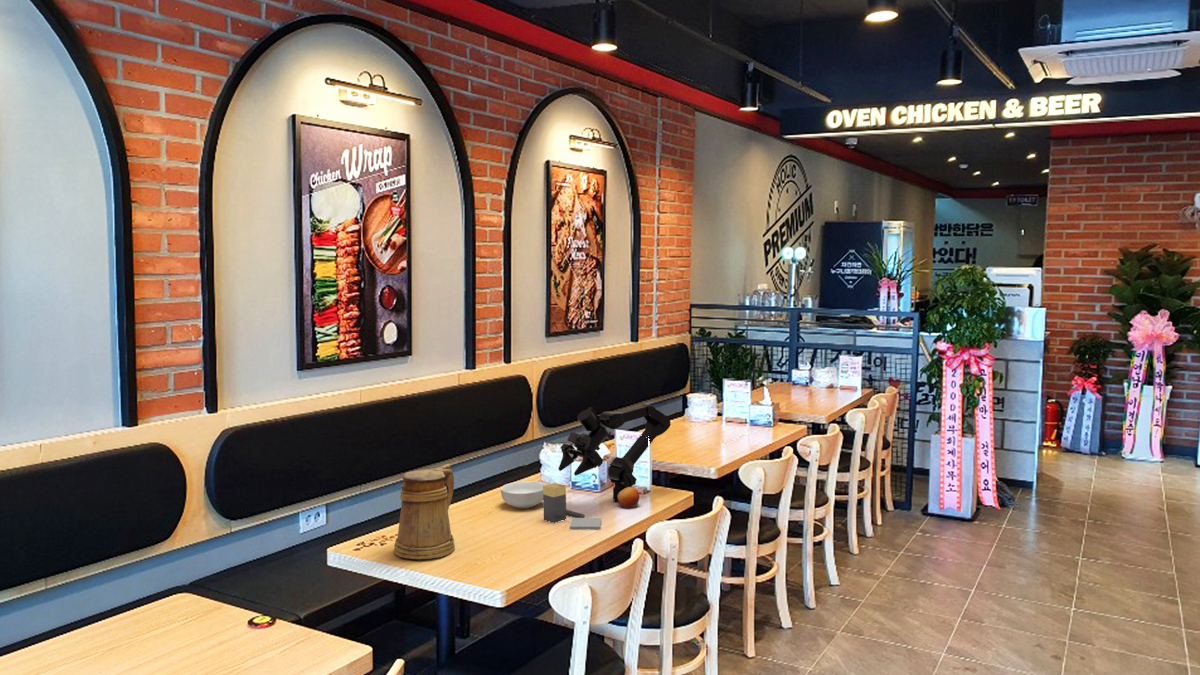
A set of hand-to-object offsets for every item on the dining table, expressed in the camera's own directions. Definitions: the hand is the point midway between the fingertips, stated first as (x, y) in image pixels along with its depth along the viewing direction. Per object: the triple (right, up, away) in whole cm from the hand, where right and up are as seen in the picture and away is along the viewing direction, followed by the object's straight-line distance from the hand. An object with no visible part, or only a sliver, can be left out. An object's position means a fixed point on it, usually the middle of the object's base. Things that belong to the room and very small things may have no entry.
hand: (566, 472), depth 312 cm
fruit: (+22, -14, +10) cm, 28 cm away
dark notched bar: (+1, -15, -1) cm, 15 cm away
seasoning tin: (-4, -15, -6) cm, 17 cm away
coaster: (+7, -16, -13) cm, 21 cm away
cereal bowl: (-16, -14, +12) cm, 25 cm away
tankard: (-41, -19, -35) cm, 57 cm away
